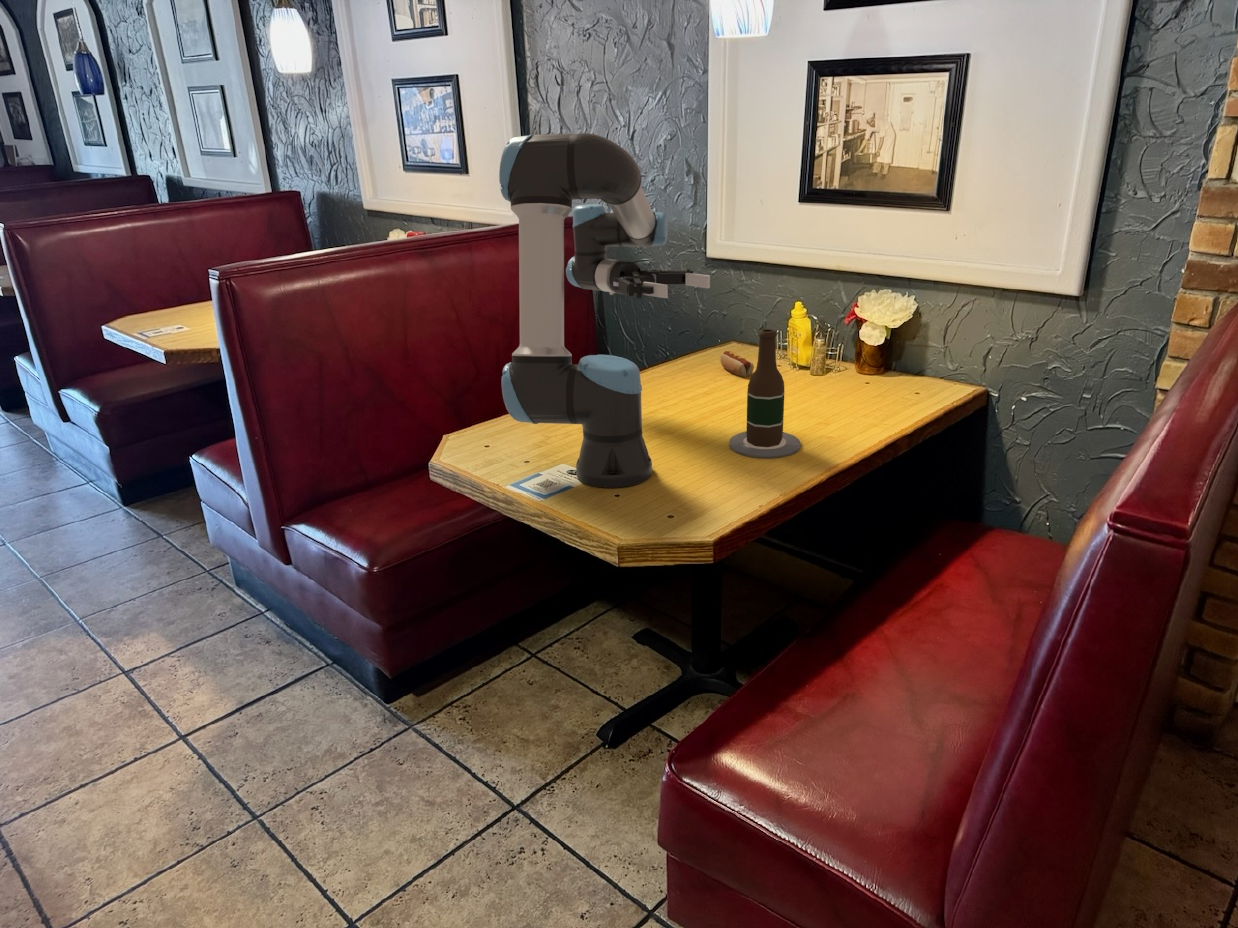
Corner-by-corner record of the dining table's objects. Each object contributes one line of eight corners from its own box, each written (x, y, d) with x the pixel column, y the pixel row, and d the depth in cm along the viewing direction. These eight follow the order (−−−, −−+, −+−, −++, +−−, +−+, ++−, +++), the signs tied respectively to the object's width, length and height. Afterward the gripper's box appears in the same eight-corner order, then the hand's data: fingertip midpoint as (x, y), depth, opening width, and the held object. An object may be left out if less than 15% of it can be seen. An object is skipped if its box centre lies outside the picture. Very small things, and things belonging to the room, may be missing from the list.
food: (716, 367, 239) (716, 350, 237) (733, 365, 241) (733, 348, 239) (739, 379, 227) (739, 361, 225) (757, 377, 228) (757, 359, 226)
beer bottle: (790, 440, 180) (794, 329, 171) (769, 450, 175) (773, 336, 166) (759, 432, 185) (762, 324, 176) (738, 442, 180) (740, 331, 171)
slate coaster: (772, 463, 170) (772, 459, 170) (714, 446, 181) (714, 442, 180) (814, 443, 180) (814, 439, 180) (757, 428, 190) (758, 424, 190)
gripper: (657, 285, 204) (725, 295, 190) (579, 302, 188) (647, 314, 174) (656, 253, 201) (725, 261, 187) (577, 268, 185) (647, 277, 171)
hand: (688, 286), depth 180 cm, fingers open, 13 cm apart
